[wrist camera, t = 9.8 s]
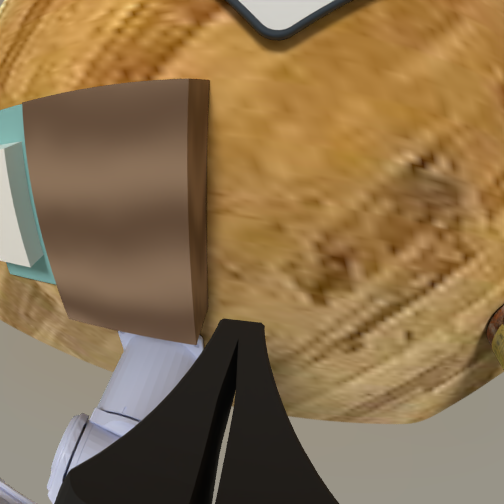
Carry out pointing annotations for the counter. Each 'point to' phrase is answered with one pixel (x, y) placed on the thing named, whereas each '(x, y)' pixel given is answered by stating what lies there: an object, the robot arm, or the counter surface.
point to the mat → (9, 131)
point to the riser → (125, 203)
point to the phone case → (283, 14)
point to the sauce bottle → (497, 335)
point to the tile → (16, 210)
